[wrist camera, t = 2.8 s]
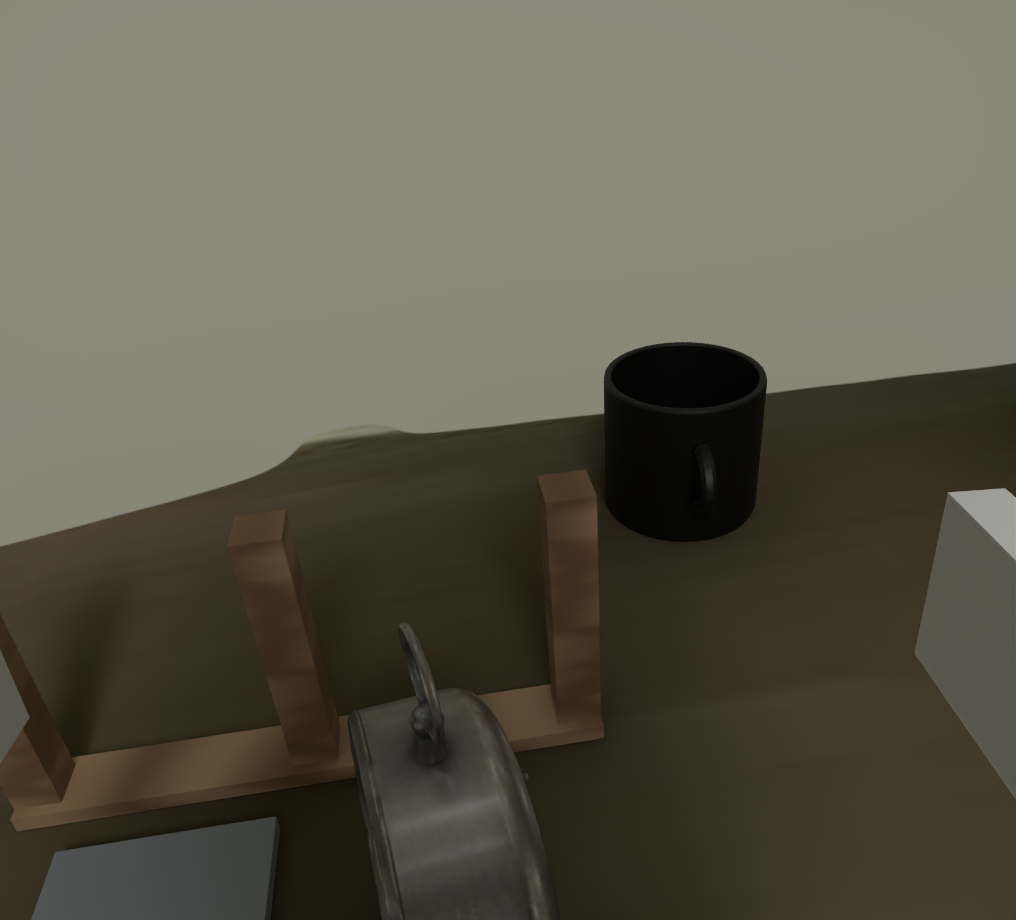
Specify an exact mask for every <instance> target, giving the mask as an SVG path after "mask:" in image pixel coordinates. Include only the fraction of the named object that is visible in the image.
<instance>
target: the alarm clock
mask: <svg viewBox="0 0 1016 920" xmlns="http://www.w3.org/2000/svg"><path fill="white" fill-rule="evenodd" d="M399 637H400V642H401V646H402V648H403V651H404V654H405V658H406V664H407V667H408V671H409V674H410V677H411V680H412V683H413V687H414V690H415V693H416V696H412V697H408V698H404V699H400V700H396V701H392V702H388V703H384V704H380V705H376V706H372V707H367V708H363V709H358V710H353V711H352V712H351V714H350V715H349V716H348V720H347V724H348V730H349V738H350V745H351V753H352V757H353V762H354V769H355V776H356V779H357V785H358V791H359V797H360V803H361V808H362V814H363V819H364V826H365V832H366V838H367V843H368V849H369V856H370V862H371V869H372V873H373V878H374V882H375V886H376V891H377V897H378V903H379V909H380V915H381V920H560V916H559V910H558V905H557V900H556V894H555V888H554V883H553V879H552V875H551V870H550V866H549V861H548V857H547V853H546V849H545V845H544V842H543V838H542V835H541V831H540V827H539V824H538V820H537V817H536V814H535V810H534V807H533V804H532V801H531V798H530V795H529V792H528V789H527V786H526V783H525V781H528V780H529V779H528V774H527V773H523V774H522V772H521V769H520V766H519V764H518V761H517V759H516V756H515V754H514V752H513V749H512V747H511V745H510V743H509V740H508V738H507V736H506V734H505V732H504V730H503V728H502V727H501V725H500V723H499V722H498V720H497V718H496V716H495V715H494V714H493V712H492V711H491V710H490V708H489V707H488V706H487V705H486V704H485V703H484V702H483V700H482V699H480V698H479V697H478V696H476V695H475V694H474V693H472V692H470V691H467V690H465V689H462V688H455V687H451V688H446V689H441V690H436V687H435V683H434V680H433V677H432V674H431V670H430V668H429V665H428V663H427V661H426V658H425V656H424V653H423V650H422V648H421V645H420V643H419V641H418V639H417V637H416V635H415V633H414V631H413V629H412V627H411V626H410V624H409V623H406V622H403V623H401V624H400V625H399ZM420 676H421V677H420Z"/></svg>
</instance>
